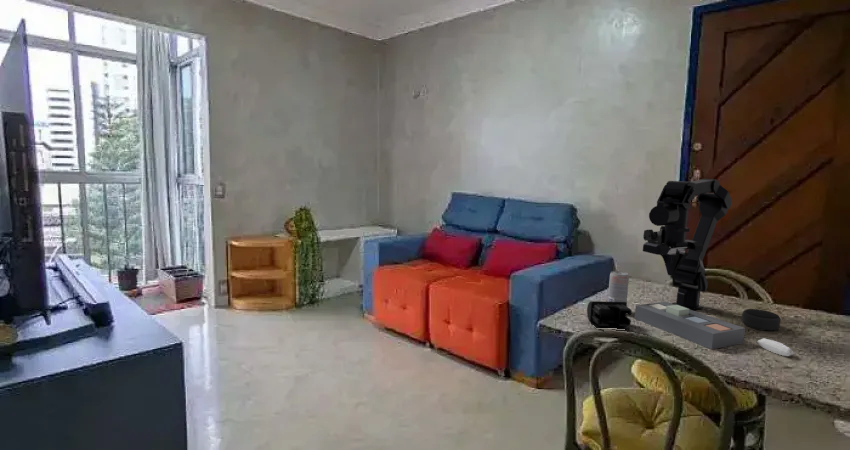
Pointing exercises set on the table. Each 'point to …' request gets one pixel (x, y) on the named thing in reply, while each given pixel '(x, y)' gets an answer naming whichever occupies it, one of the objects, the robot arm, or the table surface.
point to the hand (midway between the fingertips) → (670, 275)
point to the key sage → (677, 310)
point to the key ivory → (658, 306)
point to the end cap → (609, 314)
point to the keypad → (690, 326)
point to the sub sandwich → (775, 347)
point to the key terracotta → (718, 327)
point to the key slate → (697, 320)
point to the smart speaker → (761, 319)
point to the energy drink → (618, 286)
